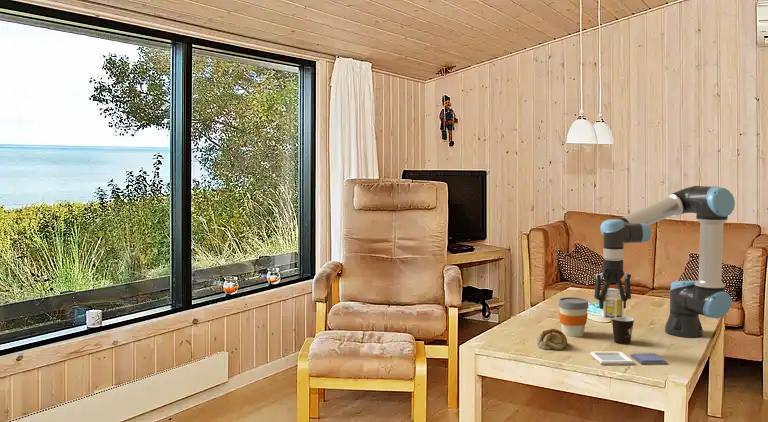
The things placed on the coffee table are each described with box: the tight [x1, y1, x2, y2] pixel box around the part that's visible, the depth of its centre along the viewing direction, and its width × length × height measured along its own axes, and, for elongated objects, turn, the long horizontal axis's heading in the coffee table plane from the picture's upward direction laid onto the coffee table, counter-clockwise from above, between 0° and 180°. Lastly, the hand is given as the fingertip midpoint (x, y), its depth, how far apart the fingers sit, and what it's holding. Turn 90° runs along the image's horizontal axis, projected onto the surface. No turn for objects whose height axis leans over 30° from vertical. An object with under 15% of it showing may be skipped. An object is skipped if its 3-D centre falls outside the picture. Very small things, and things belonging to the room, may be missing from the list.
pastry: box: [536, 328, 568, 351], centre depth 271 cm, size 14×12×8 cm
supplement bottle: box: [604, 287, 622, 321], centre depth 262 cm, size 6×6×11 cm
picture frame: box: [589, 351, 634, 366], centre depth 253 cm, size 12×12×1 cm
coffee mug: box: [611, 315, 635, 345], centre depth 277 cm, size 12×9×10 cm
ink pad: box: [629, 353, 669, 366], centre depth 252 cm, size 10×10×1 cm
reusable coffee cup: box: [558, 296, 589, 338], centre depth 289 cm, size 13×13×15 cm
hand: (612, 316), depth 263 cm, fingers closed on supplement bottle, 6 cm apart
